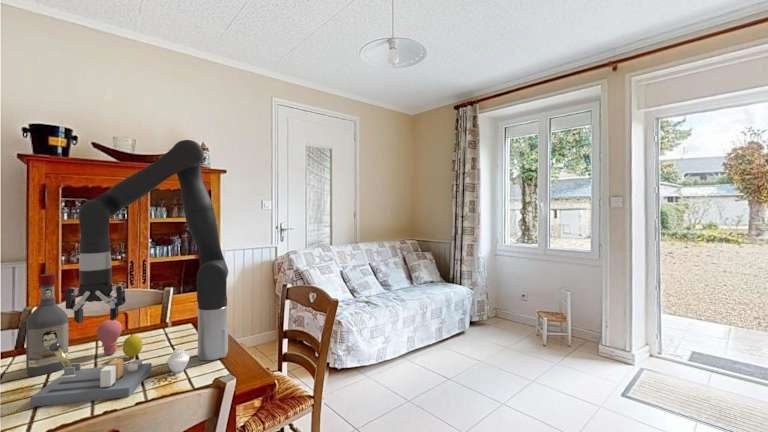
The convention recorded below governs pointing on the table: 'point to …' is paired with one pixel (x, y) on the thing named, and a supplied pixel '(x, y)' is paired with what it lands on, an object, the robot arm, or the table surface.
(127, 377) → the panel
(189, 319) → the table surface
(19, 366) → the table surface
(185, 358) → the white egg shape
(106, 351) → the light bulb
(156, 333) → the table surface
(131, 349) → the lemon
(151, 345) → the table surface
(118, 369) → the orange slider
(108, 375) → the grey slider
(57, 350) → the brass lever
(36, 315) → the liquor
